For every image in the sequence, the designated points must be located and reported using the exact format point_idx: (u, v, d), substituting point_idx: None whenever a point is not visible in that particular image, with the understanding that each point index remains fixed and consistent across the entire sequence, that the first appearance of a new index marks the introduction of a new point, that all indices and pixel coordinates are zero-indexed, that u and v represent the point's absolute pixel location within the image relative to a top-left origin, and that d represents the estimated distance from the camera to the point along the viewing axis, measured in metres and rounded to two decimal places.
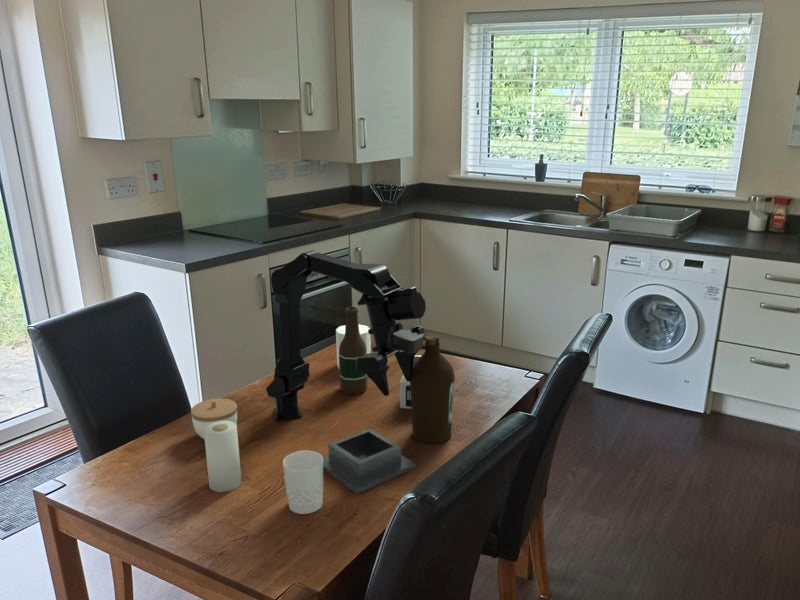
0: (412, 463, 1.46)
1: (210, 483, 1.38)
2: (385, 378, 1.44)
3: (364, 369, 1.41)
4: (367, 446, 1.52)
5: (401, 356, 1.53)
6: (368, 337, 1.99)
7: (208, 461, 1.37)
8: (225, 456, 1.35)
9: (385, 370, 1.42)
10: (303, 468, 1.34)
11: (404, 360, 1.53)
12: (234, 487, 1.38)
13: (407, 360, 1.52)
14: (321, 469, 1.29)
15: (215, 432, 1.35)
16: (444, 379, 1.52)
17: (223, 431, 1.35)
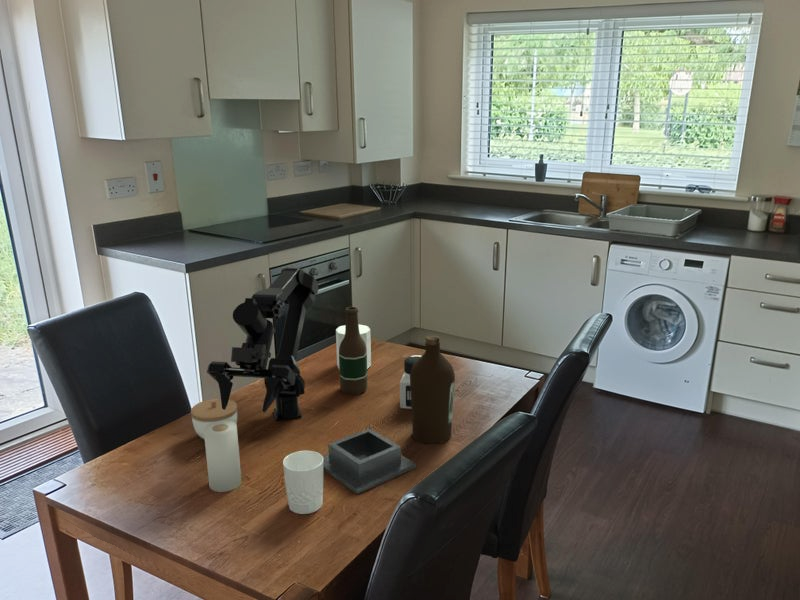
0: (412, 463, 1.46)
1: (210, 483, 1.38)
2: (222, 388, 1.45)
3: None
4: (367, 446, 1.52)
5: None
6: (368, 337, 1.99)
7: (208, 461, 1.37)
8: (225, 456, 1.35)
9: (220, 379, 1.45)
10: (303, 468, 1.34)
11: None
12: (234, 487, 1.38)
13: None
14: (321, 469, 1.29)
15: (215, 432, 1.35)
16: (444, 379, 1.52)
17: (223, 431, 1.35)
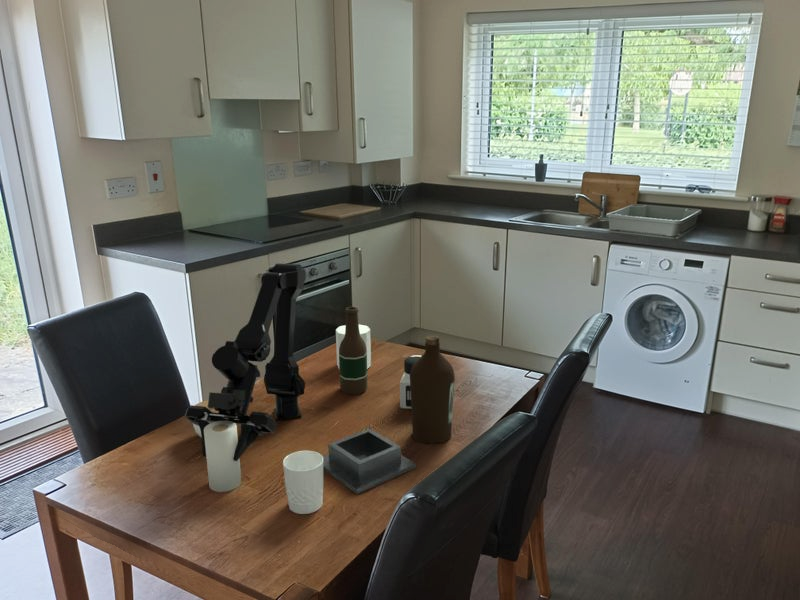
0: (412, 463, 1.46)
1: (210, 483, 1.38)
2: None
3: None
4: (367, 446, 1.52)
5: None
6: (368, 337, 1.99)
7: (208, 461, 1.37)
8: (225, 456, 1.35)
9: (202, 425, 1.39)
10: (303, 468, 1.34)
11: None
12: (234, 487, 1.38)
13: None
14: (321, 469, 1.29)
15: (215, 432, 1.35)
16: (444, 379, 1.52)
17: (223, 431, 1.35)
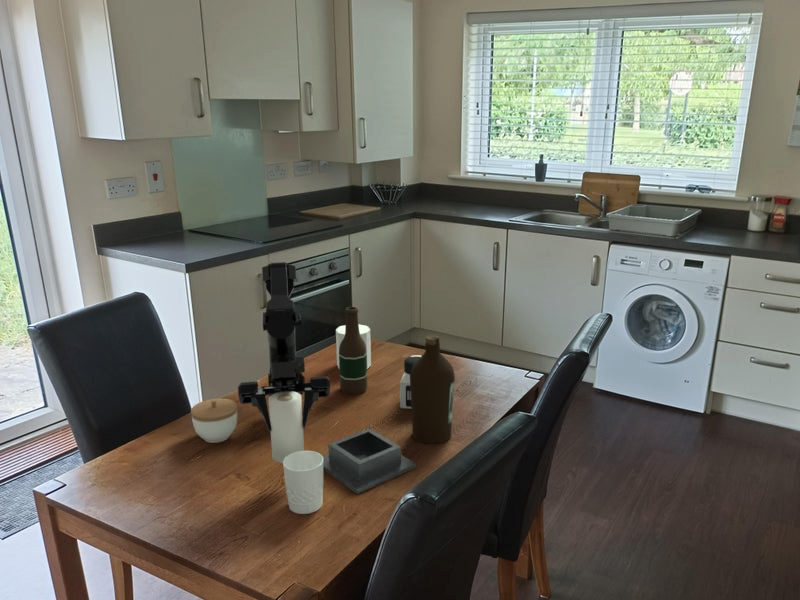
0: (412, 463, 1.46)
1: (278, 456, 1.35)
2: (264, 409, 1.35)
3: None
4: (367, 446, 1.52)
5: None
6: (368, 337, 1.99)
7: (277, 433, 1.34)
8: (296, 425, 1.34)
9: (261, 399, 1.35)
10: (303, 468, 1.34)
11: None
12: None
13: None
14: (321, 469, 1.29)
15: (285, 402, 1.33)
16: (444, 379, 1.52)
17: (291, 400, 1.33)
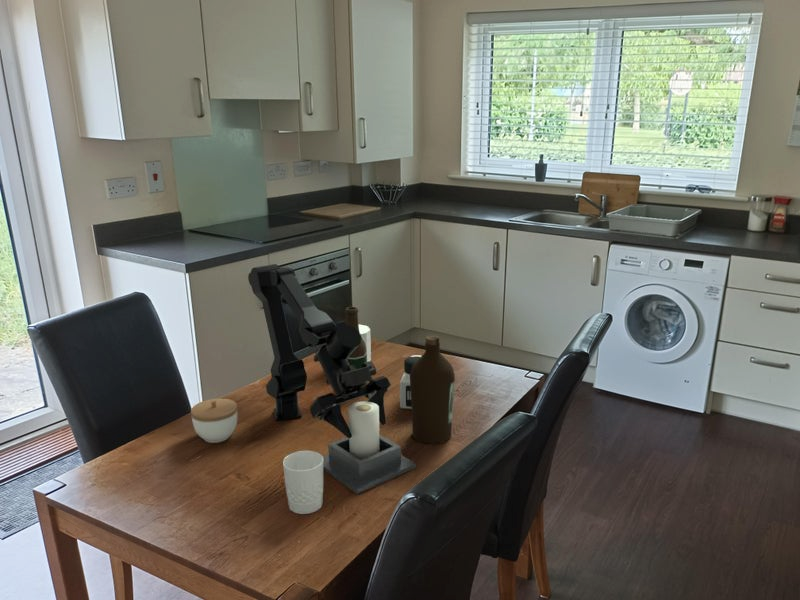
0: (412, 463, 1.46)
1: None
2: (341, 418, 1.41)
3: (315, 413, 1.41)
4: None
5: None
6: (368, 337, 1.99)
7: (364, 442, 1.42)
8: (378, 430, 1.44)
9: (337, 409, 1.40)
10: (303, 468, 1.34)
11: None
12: None
13: (376, 403, 1.48)
14: (321, 469, 1.29)
15: (369, 411, 1.41)
16: (444, 379, 1.52)
17: (372, 408, 1.43)
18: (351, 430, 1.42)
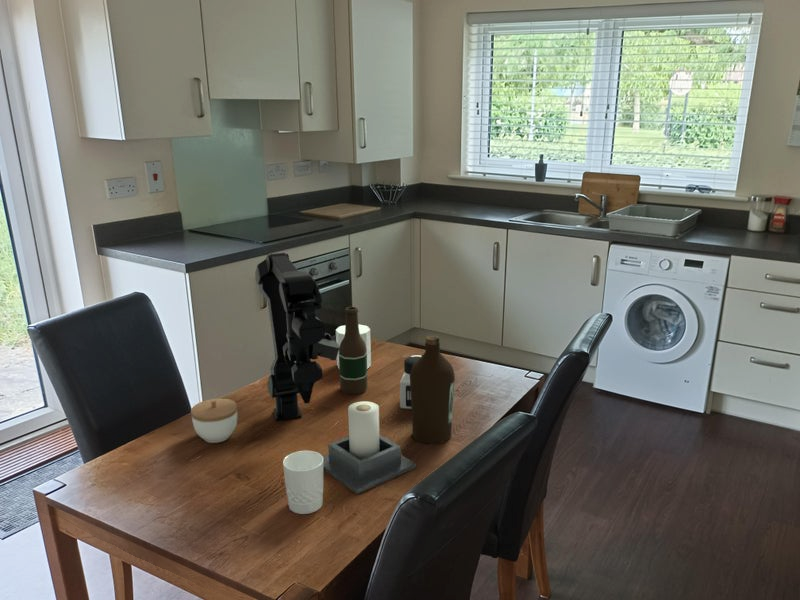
0: (412, 463, 1.46)
1: None
2: None
3: (306, 379, 1.41)
4: None
5: (295, 363, 1.55)
6: (368, 337, 1.99)
7: (364, 442, 1.42)
8: (378, 430, 1.44)
9: None
10: (303, 468, 1.34)
11: None
12: None
13: None
14: (321, 469, 1.29)
15: (369, 411, 1.42)
16: (444, 379, 1.52)
17: (372, 408, 1.43)
18: (351, 430, 1.42)
